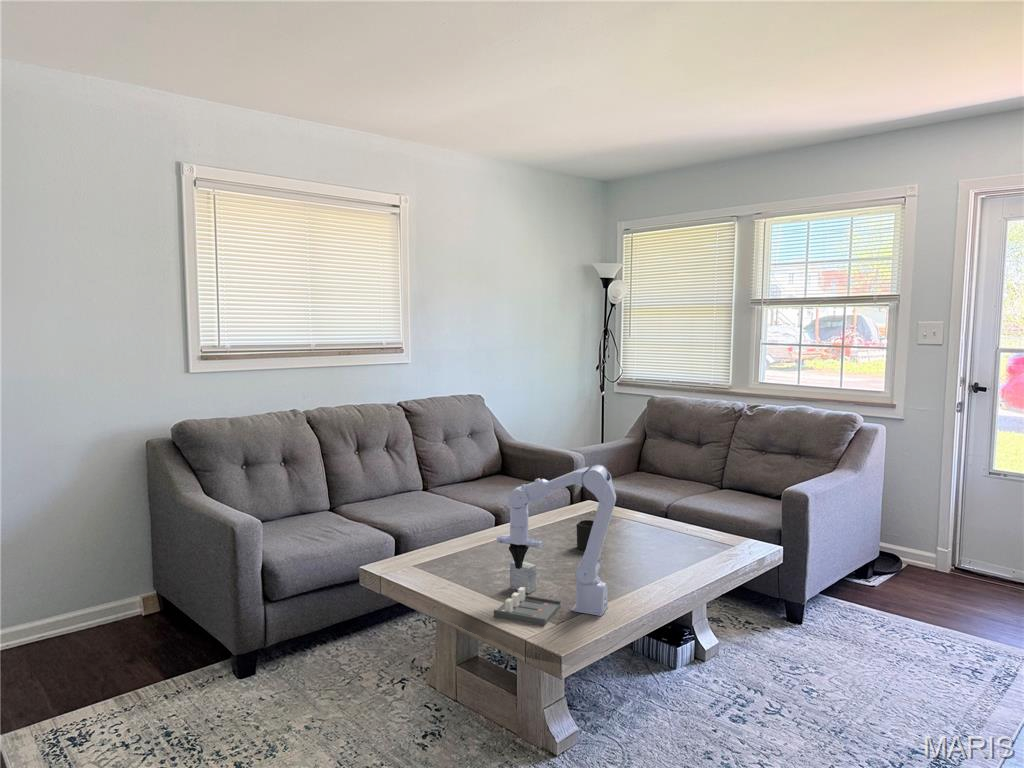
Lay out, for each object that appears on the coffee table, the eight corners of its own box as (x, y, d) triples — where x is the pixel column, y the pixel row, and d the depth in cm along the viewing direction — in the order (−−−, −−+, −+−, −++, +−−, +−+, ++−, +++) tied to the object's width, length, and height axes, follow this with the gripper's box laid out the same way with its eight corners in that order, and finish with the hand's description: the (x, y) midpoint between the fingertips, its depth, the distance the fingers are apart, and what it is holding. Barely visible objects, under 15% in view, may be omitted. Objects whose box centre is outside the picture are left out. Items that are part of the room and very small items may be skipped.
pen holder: (604, 550, 268) (605, 525, 267) (583, 553, 264) (583, 527, 264) (593, 543, 277) (593, 519, 276) (572, 546, 273) (572, 521, 272)
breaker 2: (525, 598, 216) (525, 587, 216) (522, 601, 214) (522, 590, 213) (520, 597, 216) (520, 586, 216) (517, 600, 214) (517, 589, 214)
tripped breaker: (513, 610, 207) (513, 599, 206) (509, 613, 204) (510, 601, 204) (508, 609, 207) (508, 598, 207) (504, 612, 205) (505, 601, 205)
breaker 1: (519, 604, 211) (519, 593, 211) (516, 607, 209) (516, 595, 209) (514, 603, 212) (514, 592, 212) (511, 606, 210) (511, 595, 209)
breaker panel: (560, 607, 213) (560, 600, 213) (544, 626, 199) (544, 619, 199) (512, 598, 219) (512, 592, 219) (493, 617, 205) (493, 610, 205)
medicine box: (536, 590, 226) (536, 564, 226) (527, 594, 223) (527, 568, 222) (518, 584, 232) (518, 559, 231) (509, 588, 228) (509, 562, 228)
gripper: (545, 524, 217) (544, 566, 218) (502, 519, 223) (502, 560, 224) (537, 530, 211) (537, 574, 212) (494, 525, 216) (493, 567, 217)
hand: (518, 567), depth 217 cm, fingers closed
